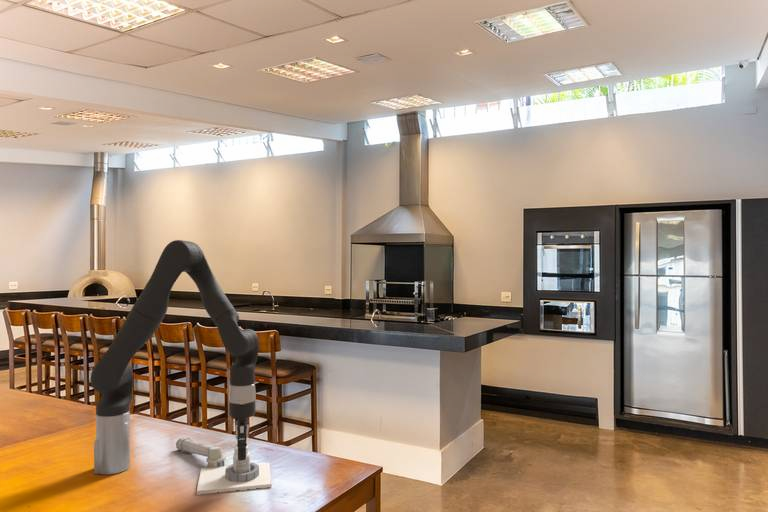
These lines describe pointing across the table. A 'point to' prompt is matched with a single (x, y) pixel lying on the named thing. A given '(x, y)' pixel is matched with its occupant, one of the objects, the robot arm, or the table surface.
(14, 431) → the table surface
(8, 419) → the table surface
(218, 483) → the collar plate
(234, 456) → the pill bottle
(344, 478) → the table surface
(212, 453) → the rod with end cap
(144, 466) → the table surface
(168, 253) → the robot arm
